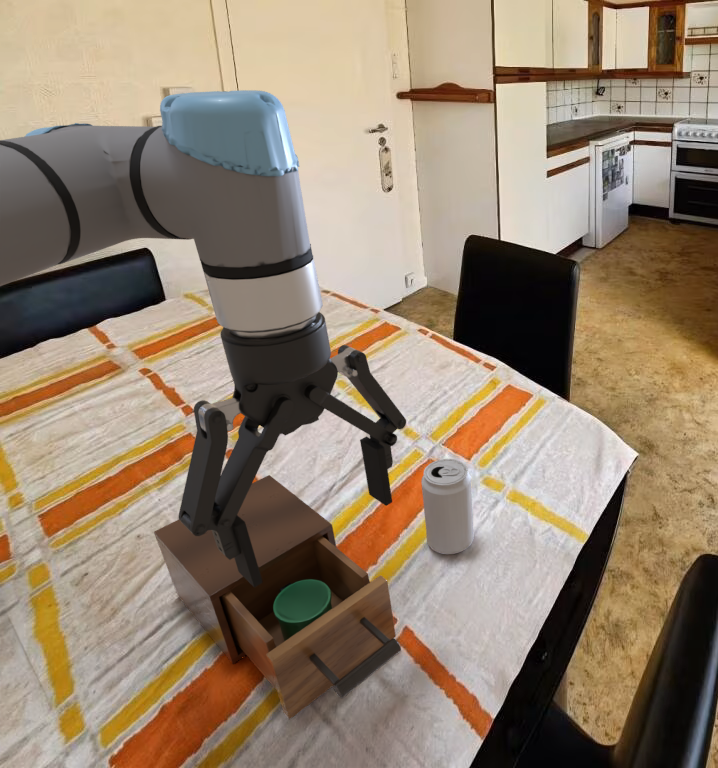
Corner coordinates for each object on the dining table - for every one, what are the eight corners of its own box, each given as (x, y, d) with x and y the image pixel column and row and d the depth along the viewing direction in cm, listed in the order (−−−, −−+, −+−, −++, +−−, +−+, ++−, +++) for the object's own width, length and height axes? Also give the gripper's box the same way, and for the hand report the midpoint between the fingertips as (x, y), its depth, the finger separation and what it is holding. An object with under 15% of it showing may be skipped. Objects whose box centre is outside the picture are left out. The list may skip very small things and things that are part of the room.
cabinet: (344, 589, 78) (332, 524, 73) (233, 664, 69) (209, 596, 64) (284, 536, 87) (269, 474, 82) (178, 596, 78) (153, 531, 72)
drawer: (430, 666, 67) (423, 609, 63) (322, 759, 59) (306, 700, 54) (329, 577, 79) (317, 523, 75) (226, 644, 70) (207, 587, 66)
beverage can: (431, 525, 88) (424, 456, 83) (476, 526, 88) (472, 456, 82) (424, 558, 83) (416, 485, 77) (472, 558, 83) (468, 486, 77)
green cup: (268, 632, 70) (258, 597, 68) (315, 601, 74) (307, 567, 71) (305, 673, 66) (296, 637, 63) (353, 637, 69) (346, 602, 67)
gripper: (376, 267, 57) (401, 458, 67) (68, 361, 41) (163, 594, 51) (430, 284, 52) (449, 486, 63) (109, 397, 36) (204, 644, 46)
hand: (320, 535), depth 57 cm, fingers open, 13 cm apart
